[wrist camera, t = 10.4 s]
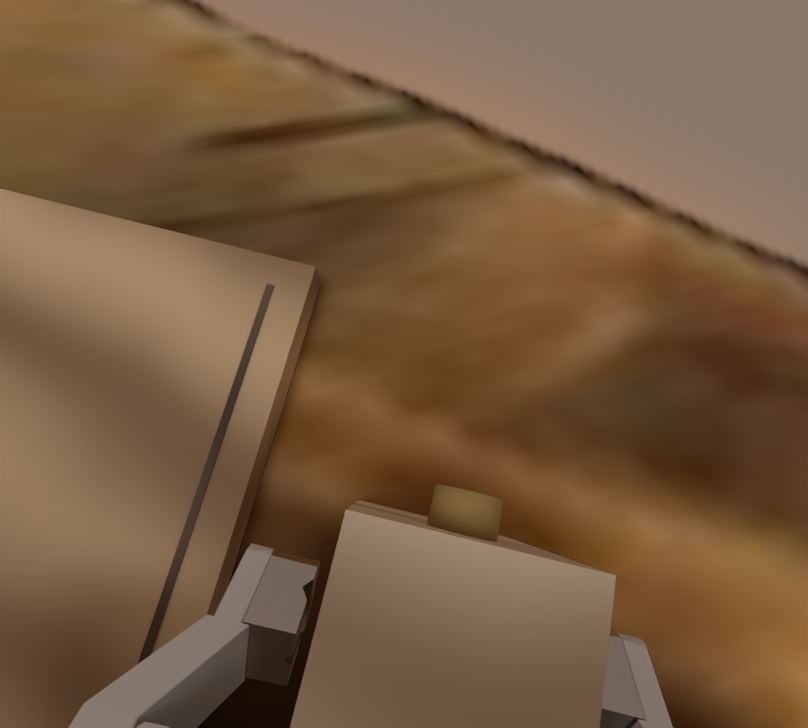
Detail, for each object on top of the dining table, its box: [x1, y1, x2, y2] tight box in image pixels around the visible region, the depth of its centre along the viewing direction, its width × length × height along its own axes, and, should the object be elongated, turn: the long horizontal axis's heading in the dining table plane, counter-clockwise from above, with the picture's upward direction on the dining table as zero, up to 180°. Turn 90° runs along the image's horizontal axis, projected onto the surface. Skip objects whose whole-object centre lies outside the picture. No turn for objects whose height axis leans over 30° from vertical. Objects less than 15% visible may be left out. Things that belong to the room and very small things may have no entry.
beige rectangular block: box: [290, 484, 616, 728], centre depth 11 cm, size 5×4×8 cm
